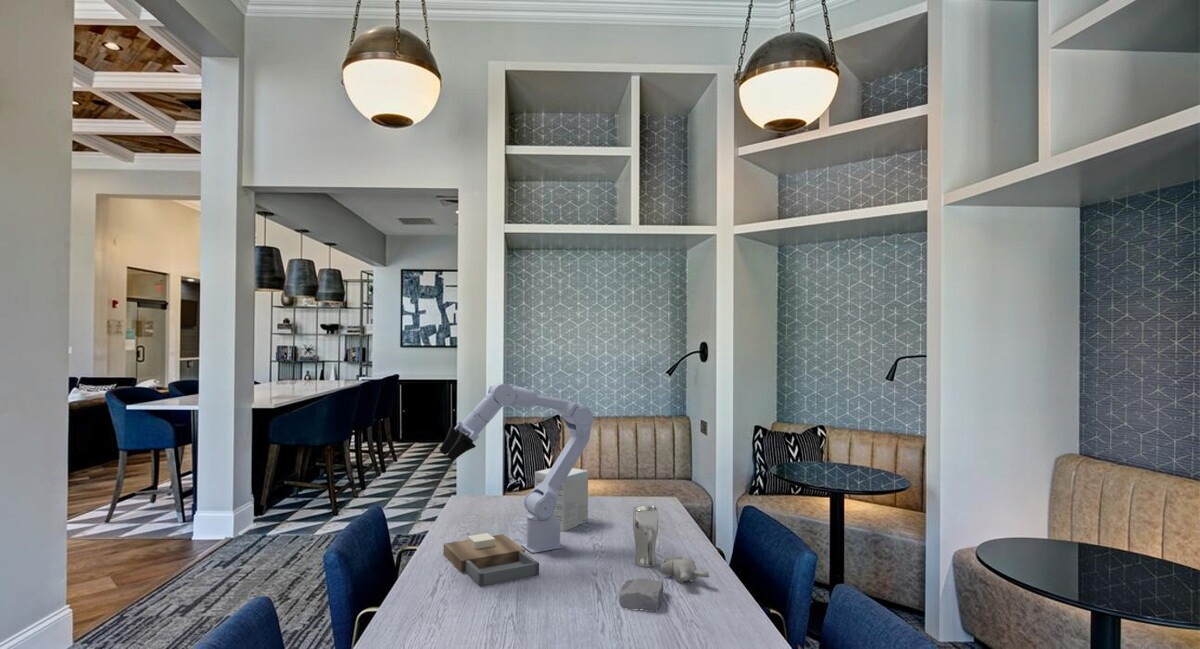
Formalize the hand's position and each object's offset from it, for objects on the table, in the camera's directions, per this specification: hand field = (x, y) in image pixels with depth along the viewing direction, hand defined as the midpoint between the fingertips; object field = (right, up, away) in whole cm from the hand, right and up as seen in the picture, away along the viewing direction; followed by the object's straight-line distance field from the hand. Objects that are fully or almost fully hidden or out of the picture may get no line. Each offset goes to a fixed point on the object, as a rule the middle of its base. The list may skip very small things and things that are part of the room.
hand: (445, 455), depth 168 cm
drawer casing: (+10, -29, +3) cm, 31 cm away
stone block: (+52, -29, -25) cm, 64 cm away
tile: (+9, -26, +5) cm, 28 cm away
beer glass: (+55, -30, -1) cm, 62 cm away
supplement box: (+29, -31, +37) cm, 56 cm away
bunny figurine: (+64, -30, -12) cm, 71 cm away
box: (+17, -29, -9) cm, 35 cm away
